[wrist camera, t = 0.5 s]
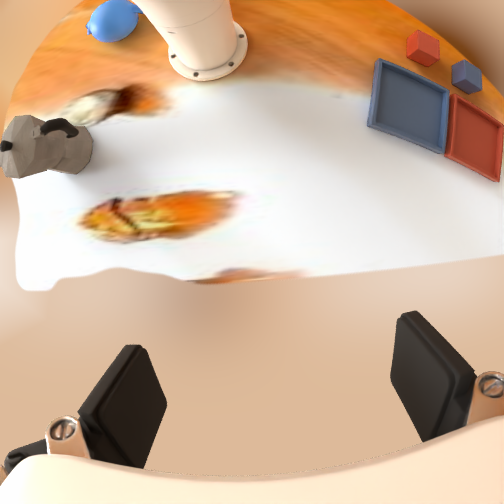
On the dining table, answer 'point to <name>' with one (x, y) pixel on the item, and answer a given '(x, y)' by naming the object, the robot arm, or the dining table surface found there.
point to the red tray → (474, 138)
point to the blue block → (466, 77)
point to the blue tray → (409, 106)
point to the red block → (423, 48)
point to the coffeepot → (43, 147)
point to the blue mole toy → (113, 20)
